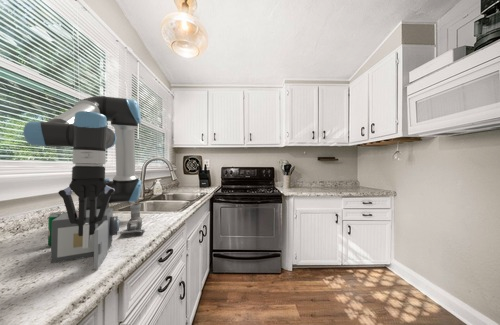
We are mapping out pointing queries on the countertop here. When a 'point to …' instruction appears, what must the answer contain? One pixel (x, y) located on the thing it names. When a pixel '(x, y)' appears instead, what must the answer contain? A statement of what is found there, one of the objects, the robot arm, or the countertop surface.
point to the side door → (100, 243)
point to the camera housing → (77, 236)
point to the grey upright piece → (134, 220)
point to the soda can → (50, 218)
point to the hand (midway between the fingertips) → (86, 246)
